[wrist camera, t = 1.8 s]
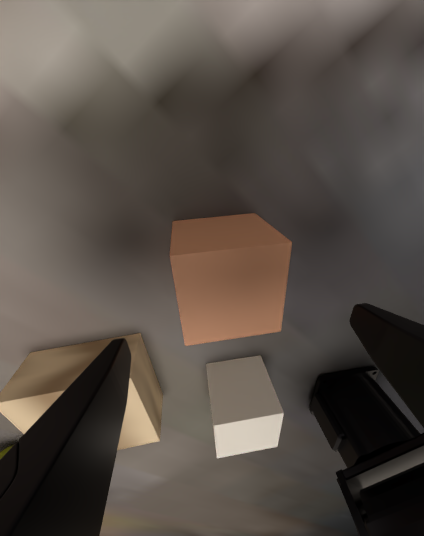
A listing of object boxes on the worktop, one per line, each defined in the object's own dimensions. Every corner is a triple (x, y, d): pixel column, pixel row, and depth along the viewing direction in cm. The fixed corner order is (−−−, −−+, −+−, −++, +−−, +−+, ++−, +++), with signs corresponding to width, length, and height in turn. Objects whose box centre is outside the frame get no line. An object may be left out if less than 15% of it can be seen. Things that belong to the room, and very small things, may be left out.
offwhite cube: (260, 354, 20) (283, 412, 15) (257, 387, 22) (277, 446, 18) (205, 363, 19) (213, 425, 15) (209, 396, 21) (217, 458, 17)
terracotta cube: (254, 212, 13) (291, 242, 9) (252, 281, 16) (280, 331, 11) (172, 220, 13) (169, 255, 8) (183, 290, 15) (185, 345, 11)
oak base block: (140, 330, 17) (130, 377, 13) (163, 391, 20) (159, 441, 17) (32, 349, 16) (-9, 404, 13) (76, 408, 20) (54, 463, 16)
